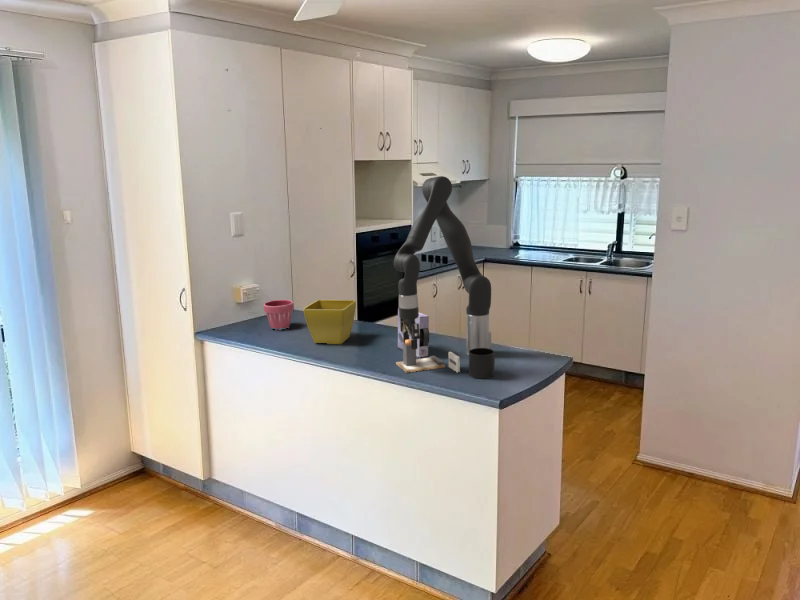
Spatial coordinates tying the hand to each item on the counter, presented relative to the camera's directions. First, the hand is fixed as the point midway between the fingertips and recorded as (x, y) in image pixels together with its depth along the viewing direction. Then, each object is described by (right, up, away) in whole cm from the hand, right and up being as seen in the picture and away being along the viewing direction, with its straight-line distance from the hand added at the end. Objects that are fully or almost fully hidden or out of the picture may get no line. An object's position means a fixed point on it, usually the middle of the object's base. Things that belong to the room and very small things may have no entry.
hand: (410, 346), depth 252 cm
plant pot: (-63, +4, +67) cm, 92 cm away
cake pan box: (+2, -4, +20) cm, 21 cm away
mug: (+27, -10, -9) cm, 30 cm away
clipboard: (+4, -8, +2) cm, 9 cm away
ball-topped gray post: (0, -7, +2) cm, 7 cm away
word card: (+17, -9, -4) cm, 19 cm away
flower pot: (-35, -1, +42) cm, 55 cm away
